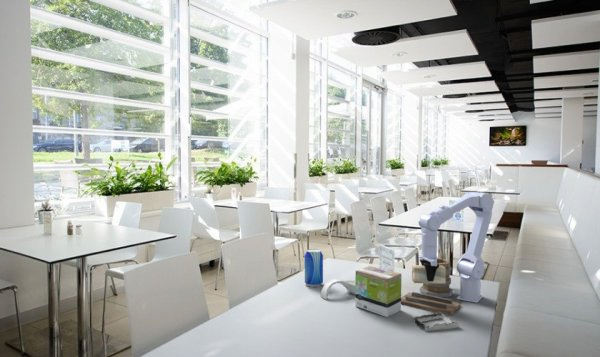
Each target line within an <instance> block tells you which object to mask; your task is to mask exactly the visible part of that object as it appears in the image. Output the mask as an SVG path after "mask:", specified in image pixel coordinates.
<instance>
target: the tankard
mask: <svg viewBox="0 0 600 357" xmlns="http://www.w3.org/2000/svg"><path fill="white" fill-rule="evenodd" d="M437 264H439V266H444V267H445V268H446V281H445V283H422V286H421V287H420V288H419V293H422V294H426V295H431V296H436V297H441V298H449V297H451V296H452V295H453V293H454V292H453V291H454V290H453V289H452V288H450V285H451V284H452V278H451V277H450V275H451V273H452V267H451V261H450V260H448V259H445V258H444V253H443V252H439V253H438V255H437Z"/></svg>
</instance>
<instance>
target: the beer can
mask: <svg viewBox="0 0 600 357" xmlns="http://www.w3.org/2000/svg"><path fill="white" fill-rule="evenodd" d="M323 282H324V254H323V253H322V250H321V249H318V248H310V249H307V250H306V252H305V254H304V283H305V285H306V286H307V287H309V286H310V287H309V288H319V287H321V286H322V285H323ZM318 286H319V287H318Z"/></svg>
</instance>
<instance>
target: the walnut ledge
mask: <svg viewBox="0 0 600 357" xmlns="http://www.w3.org/2000/svg"><path fill="white" fill-rule="evenodd" d="M401 305H403V306H408V307H410V308H412V307H413V308H416V309H421V310H425V311H430V312H433V313H437V312H442V313H443V314H444V315H445V316H446V315H447V316H452V315H453V314H454V313H455V312H456V311H457V310H458V309H460V307H461V302H458V301H457V302H456V301H453V299H450V298H447V297H436V296H431V295H426V294H423V293H422V292H415V291H411V292H408V293H406V294H405V295H403V296H401Z"/></svg>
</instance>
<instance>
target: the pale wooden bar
mask: <svg viewBox="0 0 600 357" xmlns="http://www.w3.org/2000/svg"><path fill="white" fill-rule="evenodd" d="M411 281H412V282H413V283H414V284H423V283H445V281H446V268H445V267H444V266H439V267H438V269H437V271H436V273H435V277H434V281H428V280H427V275H426V269H425V266H424V265H421V264H419V265H416V264H415V265H411Z"/></svg>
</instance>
